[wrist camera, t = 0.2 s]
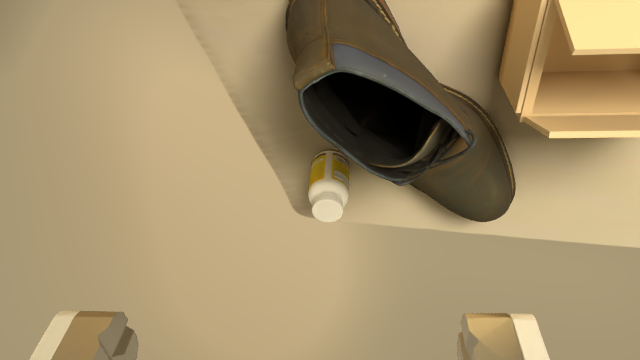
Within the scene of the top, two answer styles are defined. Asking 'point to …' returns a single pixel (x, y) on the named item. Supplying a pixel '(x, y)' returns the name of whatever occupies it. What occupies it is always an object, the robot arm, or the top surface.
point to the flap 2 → (586, 126)
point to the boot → (394, 108)
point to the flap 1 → (601, 26)
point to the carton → (562, 69)
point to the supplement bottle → (329, 185)
